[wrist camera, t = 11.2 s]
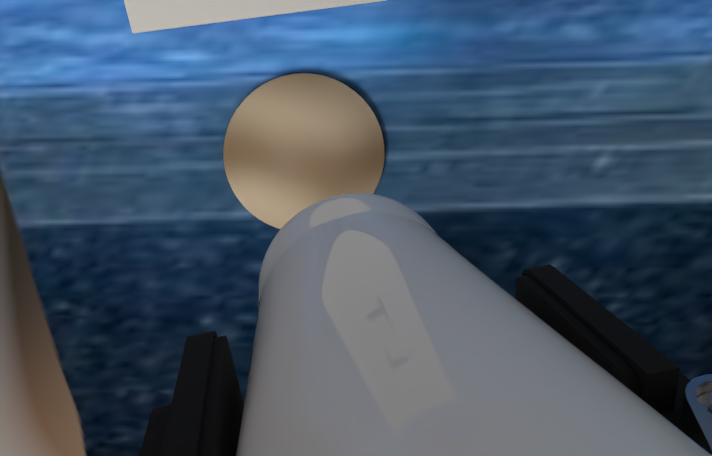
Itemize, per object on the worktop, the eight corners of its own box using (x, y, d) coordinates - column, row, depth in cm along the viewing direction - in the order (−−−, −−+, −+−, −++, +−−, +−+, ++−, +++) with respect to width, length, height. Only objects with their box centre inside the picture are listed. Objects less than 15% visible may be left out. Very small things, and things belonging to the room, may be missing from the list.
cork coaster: (207, 85, 28) (206, 87, 27) (373, 62, 29) (375, 62, 28) (241, 241, 31) (241, 244, 31) (389, 214, 32) (391, 218, 32)
